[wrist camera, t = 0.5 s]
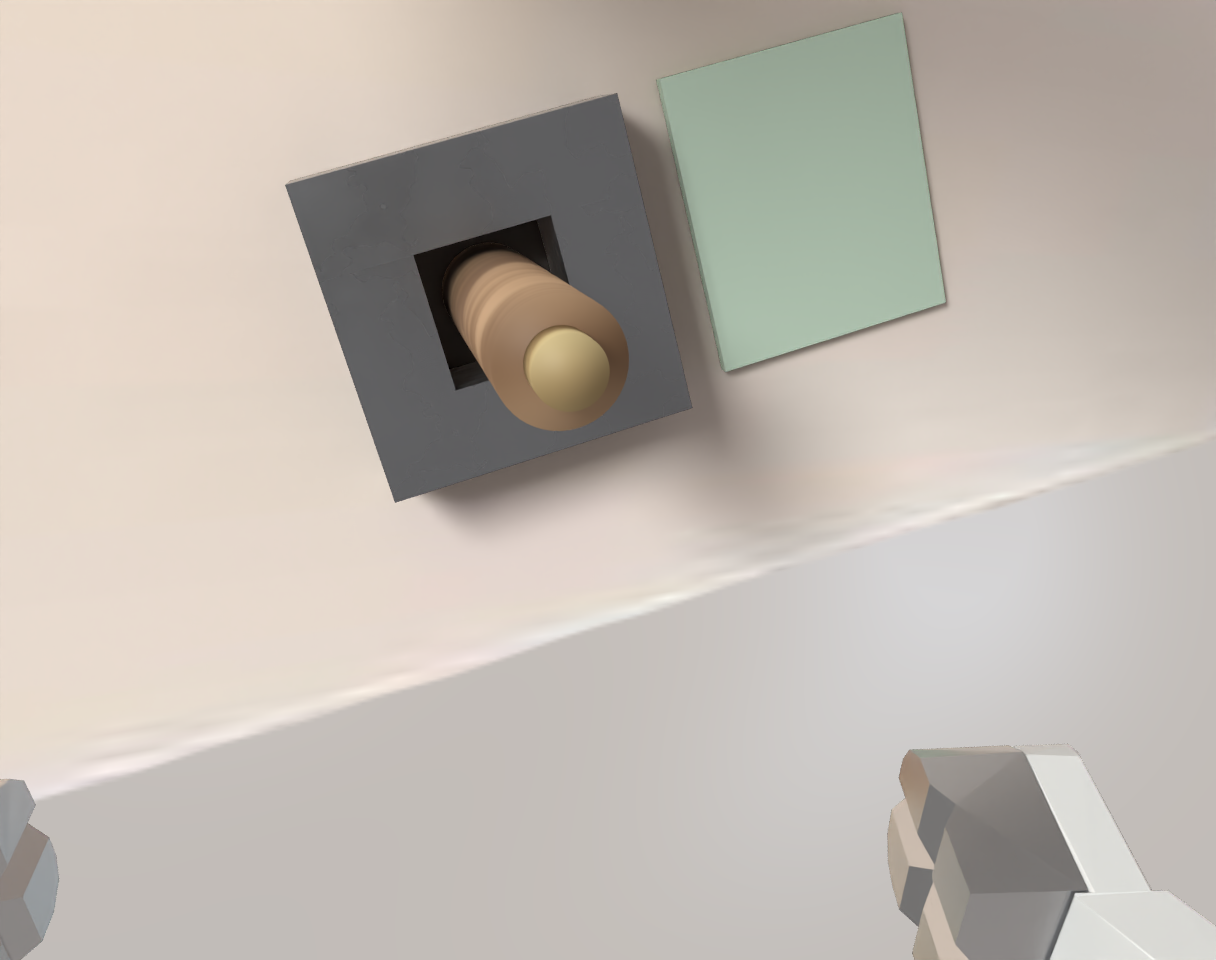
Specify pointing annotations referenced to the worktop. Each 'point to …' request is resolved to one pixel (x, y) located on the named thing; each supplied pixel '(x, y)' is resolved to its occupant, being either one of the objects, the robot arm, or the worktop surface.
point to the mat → (805, 189)
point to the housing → (466, 208)
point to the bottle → (536, 337)
